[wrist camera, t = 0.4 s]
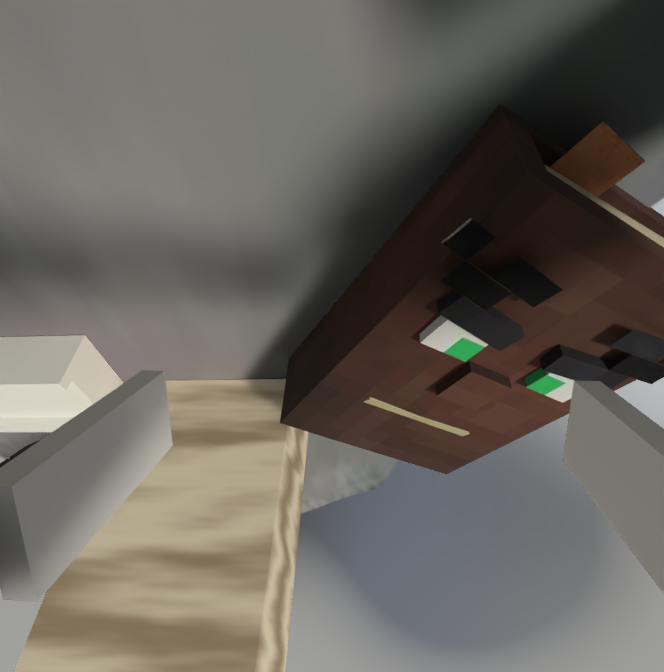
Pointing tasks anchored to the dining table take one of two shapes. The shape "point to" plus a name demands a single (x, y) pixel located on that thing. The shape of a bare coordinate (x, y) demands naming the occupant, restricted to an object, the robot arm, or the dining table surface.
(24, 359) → the dock
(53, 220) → the dining table surface
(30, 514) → the robot arm
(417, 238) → the decorative book
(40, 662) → the pedestal
